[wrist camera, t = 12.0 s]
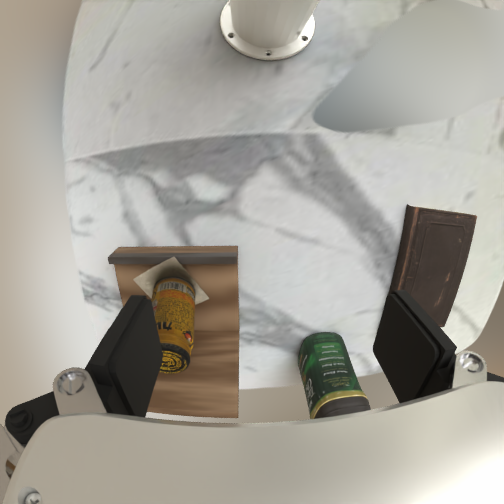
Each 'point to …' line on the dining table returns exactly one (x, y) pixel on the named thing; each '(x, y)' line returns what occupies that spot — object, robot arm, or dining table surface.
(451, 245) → the hardcover book
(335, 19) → the dining table surface
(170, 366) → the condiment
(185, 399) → the rack
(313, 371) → the coffee jar
